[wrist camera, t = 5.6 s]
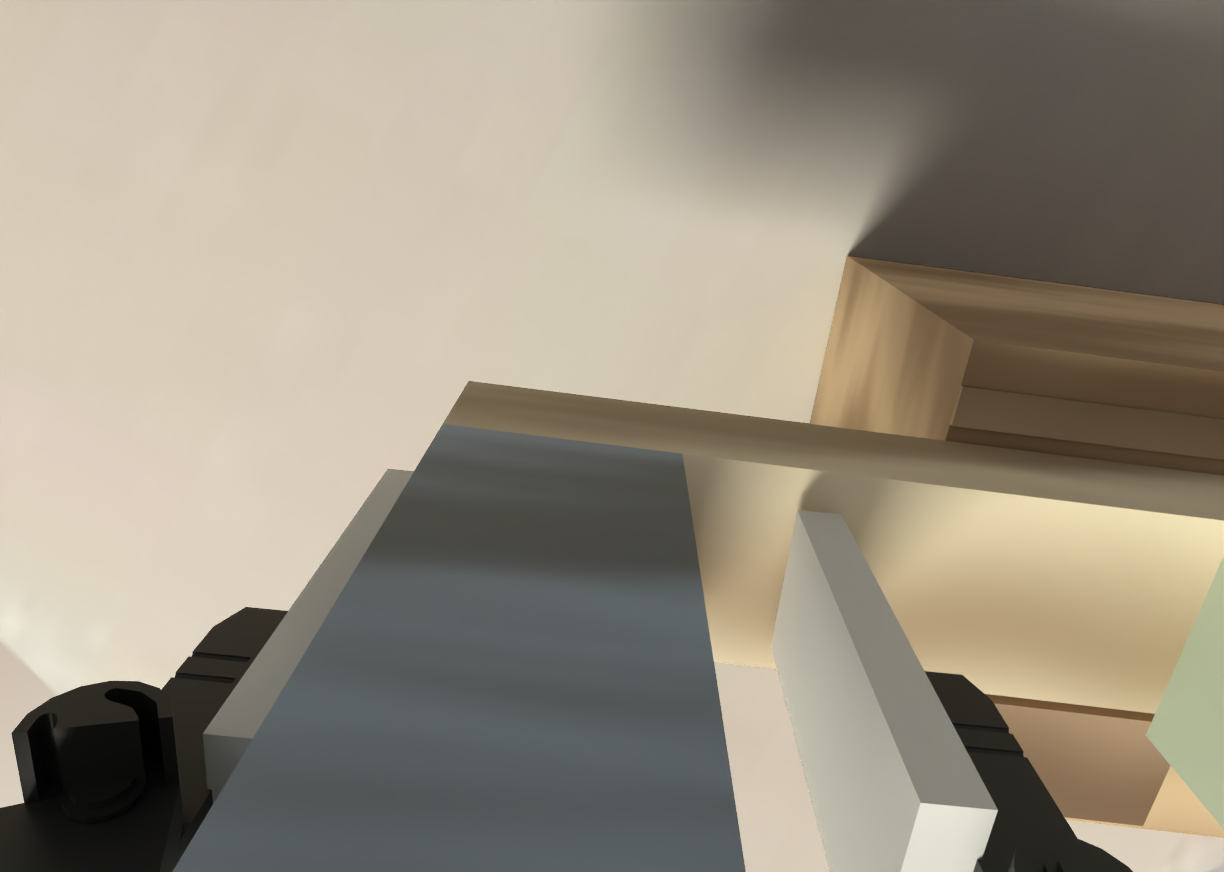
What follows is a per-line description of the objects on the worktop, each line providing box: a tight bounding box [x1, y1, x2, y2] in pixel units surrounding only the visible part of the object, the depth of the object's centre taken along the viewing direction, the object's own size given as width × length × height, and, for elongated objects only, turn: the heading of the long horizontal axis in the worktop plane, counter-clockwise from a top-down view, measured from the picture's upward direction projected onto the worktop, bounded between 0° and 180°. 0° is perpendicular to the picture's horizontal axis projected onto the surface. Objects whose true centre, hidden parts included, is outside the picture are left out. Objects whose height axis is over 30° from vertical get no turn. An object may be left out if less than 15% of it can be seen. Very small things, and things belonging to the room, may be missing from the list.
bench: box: [810, 256, 1224, 838], centre depth 22 cm, size 11×20×11 cm, turn 83°
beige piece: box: [173, 381, 1224, 872], centre depth 12 cm, size 4×20×11 cm, turn 83°
